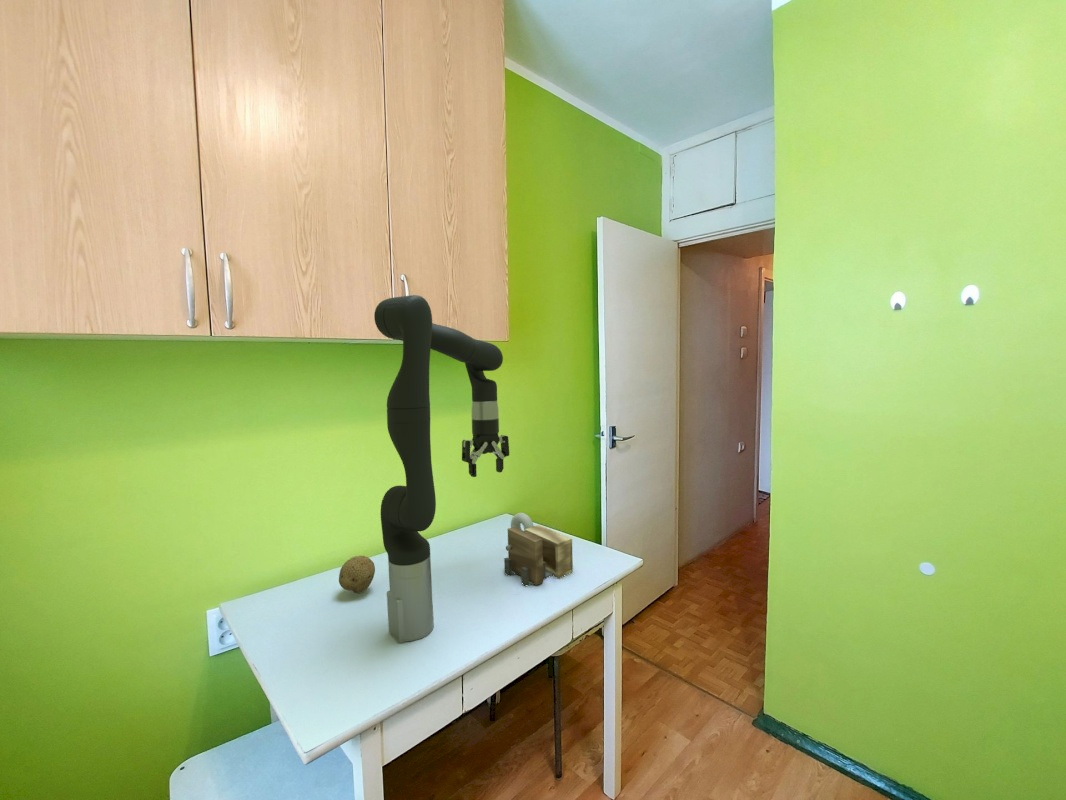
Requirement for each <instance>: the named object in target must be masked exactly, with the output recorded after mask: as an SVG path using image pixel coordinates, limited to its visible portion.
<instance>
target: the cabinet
mask: <svg viewBox="0 0 1066 800" xmlns="http://www.w3.org/2000/svg"><path fill="white" fill-rule="evenodd" d="M525 532H527V533H529V534H531V535H534V536H536V537H538V538H540V539H542V545H543V580H545V579H547V578H546V577H548V578H549V576H550V577H552V576H553V575H554V576H553V577H555V578H556V577H557V578H556V579H558V578H559V579H561V578H563V577H565V576H564V575H566V576H568V575H570V574H569V573H571V574H573V573H574V571H573V570H574V566H573V565H574V564H573V561H574V560H573V559H574V558H573V538H571V537H569V536H566V535H564V534H561V533H560V532H557V531H555V530H552V529H550V528H547V527H545V526H542V525H540V524H538V525H534V527H530V528H527V529H525ZM503 561H504V574H505V573H506V574H507V575H506V574H505V575H506V576H508V575H510V576H512V575H511V574H513V575H515V574H514V573H515V572H513V571H512V570H511V559H509V558H508V557H505V558H503ZM572 572H573V573H572ZM567 574H568V575H567ZM551 575H552V576H551ZM562 576H563V577H562ZM520 577H521V578H520V579H521V584H522V583H523V584H524V585H523V584H522V585H523V586H525V585H528V586H530V585H532V584H531V583H532V582H530V581H529V569H527V568H526V567H522V568H521V576H520ZM560 577H561V578H560ZM544 578H545V579H544ZM529 584H530V585H529Z"/></svg>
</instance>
